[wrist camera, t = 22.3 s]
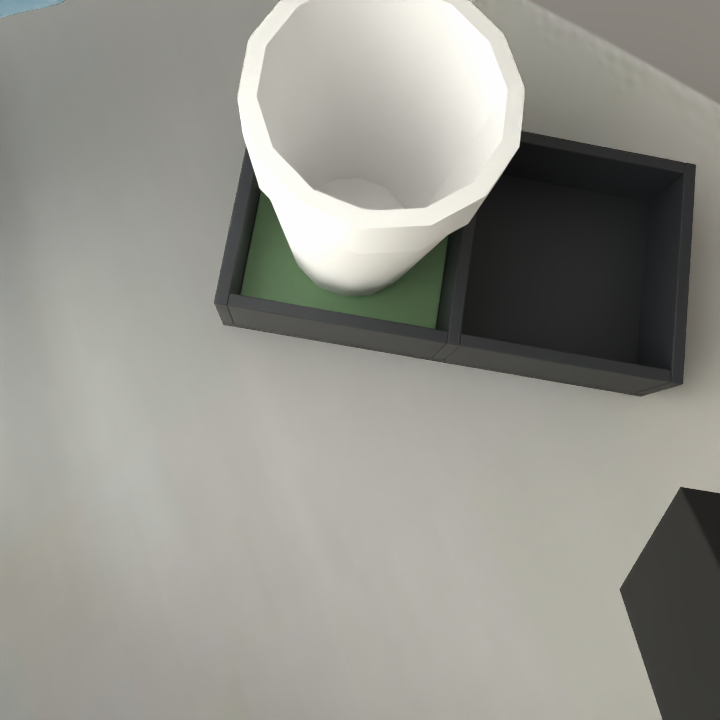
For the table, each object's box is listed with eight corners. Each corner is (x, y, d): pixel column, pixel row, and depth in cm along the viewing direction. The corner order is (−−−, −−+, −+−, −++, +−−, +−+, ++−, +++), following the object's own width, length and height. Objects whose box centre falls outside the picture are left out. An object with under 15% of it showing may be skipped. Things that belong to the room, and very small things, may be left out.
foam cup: (238, 176, 35) (206, -3, 22) (408, 133, 36) (468, -59, 24) (291, 350, 34) (289, 263, 21) (466, 299, 35) (563, 189, 22)
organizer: (222, 324, 34) (213, 302, 30) (263, 123, 37) (259, 79, 33) (641, 396, 36) (683, 384, 32) (655, 198, 38) (696, 164, 34)
